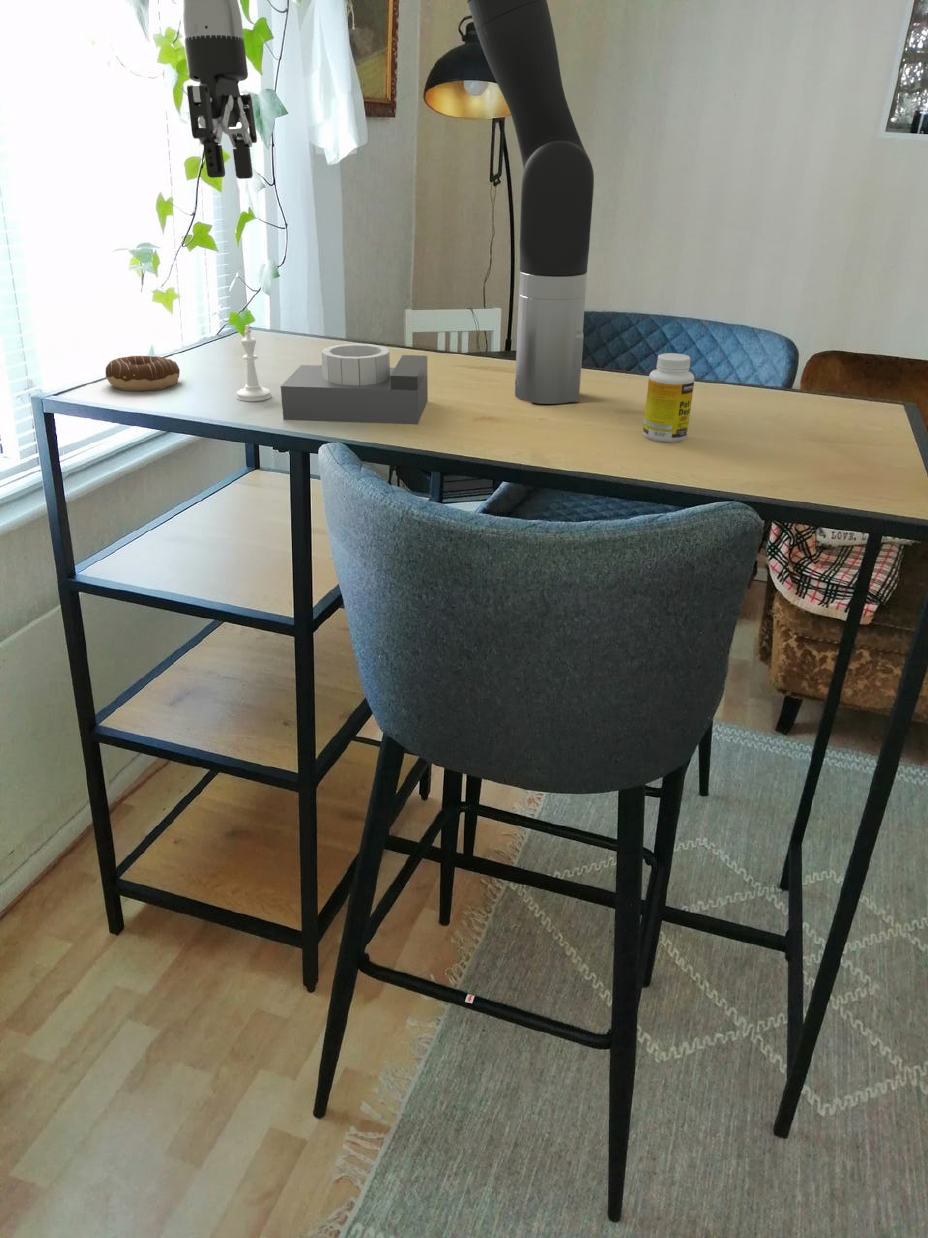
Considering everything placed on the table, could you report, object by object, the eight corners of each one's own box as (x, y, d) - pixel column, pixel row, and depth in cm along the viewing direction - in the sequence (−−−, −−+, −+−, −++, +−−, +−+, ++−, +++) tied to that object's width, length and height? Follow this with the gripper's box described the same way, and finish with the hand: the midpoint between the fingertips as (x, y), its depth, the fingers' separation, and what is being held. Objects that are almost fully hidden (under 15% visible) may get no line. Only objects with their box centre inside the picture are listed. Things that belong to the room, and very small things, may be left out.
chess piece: (275, 393, 135) (269, 322, 131) (265, 402, 131) (259, 329, 126) (242, 391, 136) (235, 321, 131) (231, 400, 132) (224, 328, 127)
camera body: (427, 400, 133) (427, 343, 129) (417, 424, 122) (417, 363, 119) (303, 396, 134) (299, 339, 130) (283, 419, 123) (278, 358, 120)
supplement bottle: (679, 446, 115) (689, 363, 111) (636, 439, 118) (644, 357, 113) (692, 435, 120) (702, 354, 115) (650, 428, 122) (659, 349, 117)
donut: (95, 393, 135) (90, 365, 133) (123, 376, 144) (119, 349, 142) (167, 395, 134) (163, 367, 132) (191, 378, 143) (188, 351, 141)
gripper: (215, 25, 111) (233, 175, 118) (263, 42, 124) (278, 177, 130) (158, 30, 113) (180, 178, 119) (212, 46, 125) (229, 179, 132)
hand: (231, 177), depth 125 cm, fingers open, 8 cm apart
